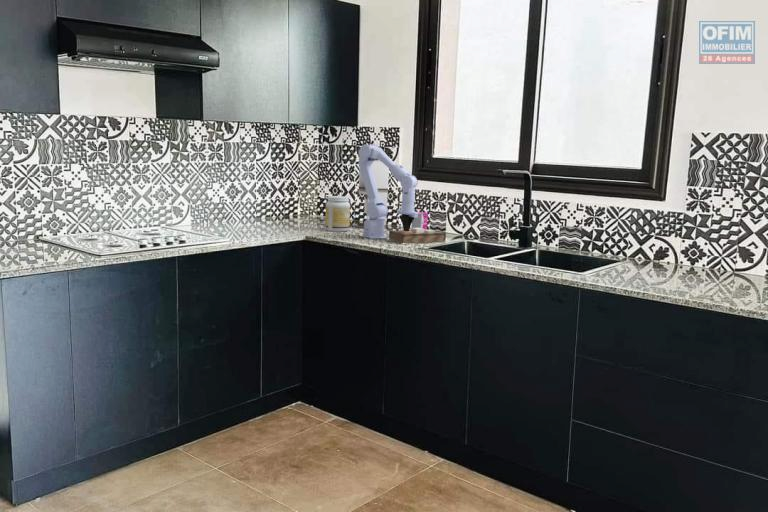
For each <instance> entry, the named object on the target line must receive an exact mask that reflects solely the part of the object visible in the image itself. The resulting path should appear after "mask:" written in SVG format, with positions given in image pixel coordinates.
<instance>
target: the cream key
mask: <svg viewBox="0 0 768 512" xmlns="http://www.w3.org/2000/svg"><path fill="white" fill-rule="evenodd" d="M410 230H411V231H412V232H414V233H424V229H422V228H412V227H410Z"/></svg>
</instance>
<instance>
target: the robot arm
mask: <svg viewBox="0 0 768 512" xmlns="http://www.w3.org/2000/svg"><path fill="white" fill-rule="evenodd" d="M357 152H358V157H359V158H358V167H359V170H360V172H361V175H362V179H363V182H364V186H365V189H366V192H367V196H368V199H369V202H368V204H367V207H368V211H367V213H368V216H369V217H370V219H367V220H366V219H365V220H364V222H363V223H364V229H363V234H362V237H364V238H367V239H371V240H372V239H373V240H374V239H375V240H376V239H389V236H385V229H384V228H385V216H386V217H387V216H388V213H389V209H388V206H387V207H386V205H385V204H384V201H383V200H382V199H381V198H380V196H379V193H378V189H377V186H376V182H375V179H374V176H373V172H372V169H371V165H372V163H373V162H374V161H375V160H380V161H381V162H382V163H384V164H385V165H386V166H387V167H388V168H389V170H390V174H391V175H392V176H393V178H395V179H396V180H397V181H398V182H399V183H400V186H401V188H402V189H401V190H402V193H401V194H402V195H401V197H402V198H401V208H400V209H396V214H398V215H399V218H400V220H401V223H402V224H401V225H402V228H403V229H402V230H404V231H409V230H411V227H412V221H413V220H414V218H418V213H415V212H416V211H415V197H416V196H415V195H416V187H417V186H418V179H417V177H416V176H415V175H411V172H408V171H407V170H406V169H405V168H404V165H402V164H399V163H398V164H396V163H395V162H394V161H393V160H392V159H391V158H390V157H389V155H387V153H386V152H385V151H384V150H383V148H381V147H380V146H379V145H377V144H366V143H365V144H362V145H361V147H360V148H359V150H358V151H357Z"/></svg>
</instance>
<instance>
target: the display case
mask: <svg viewBox="0 0 768 512" xmlns="http://www.w3.org/2000/svg"><path fill="white" fill-rule="evenodd" d="M371 169H372V172H373V176H374V179H375V182H376V186H377V189H378V193H379V196H380V198H381V199H382V200H383V201H384V204H385V205H386V207H387V208H388V197H389V196H388V194H389V193H388V191H389V175H390V169H389V168H388V167H387V166H386V165H385V164H384V163H382V162H381V161H380V160H379V159H376V160H375V161H374V162H373V163H372V165H371ZM358 194H361V195H364V209H363V210H364V213H365V214H366V217H365V218H366V219H365V220H367V219H370V217H369V216H368V213H367V211H368V207H367V204H368V202H369V199H368V196H367V192H366V189H365V186H364V182H363V179H362V175H361V172H360V169H359V175H358ZM356 227H357V228H361V229H363V230H364V222H356ZM386 229H387V216H385V228H384V230H386Z"/></svg>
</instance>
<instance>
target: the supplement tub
mask: <svg viewBox="0 0 768 512" xmlns="http://www.w3.org/2000/svg"><path fill="white" fill-rule="evenodd" d="M349 198H350V197H349V196H343V195H329V196H327V201H326V203H325V218H324V220H325V222H324V226H325V227H324V228H325V230H326V231H328V232H333V233H334V232H336V233H339V232H340V233H341V232H342V233H345V232H348V231H349V230H350V221H351V220H350V219H351V216H350V215H351V203H350V202H349V201H350V199H349Z"/></svg>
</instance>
